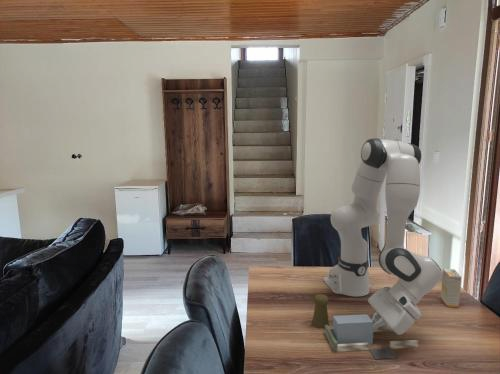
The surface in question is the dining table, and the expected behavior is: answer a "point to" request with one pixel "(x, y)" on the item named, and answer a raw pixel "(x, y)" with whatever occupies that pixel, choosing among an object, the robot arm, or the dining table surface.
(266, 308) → the dining table surface
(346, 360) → the dining table surface
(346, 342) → the grey brick
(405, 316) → the robot arm
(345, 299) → the dining table surface
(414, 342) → the lane
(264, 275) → the dining table surface
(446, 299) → the supplement box
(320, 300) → the cork
